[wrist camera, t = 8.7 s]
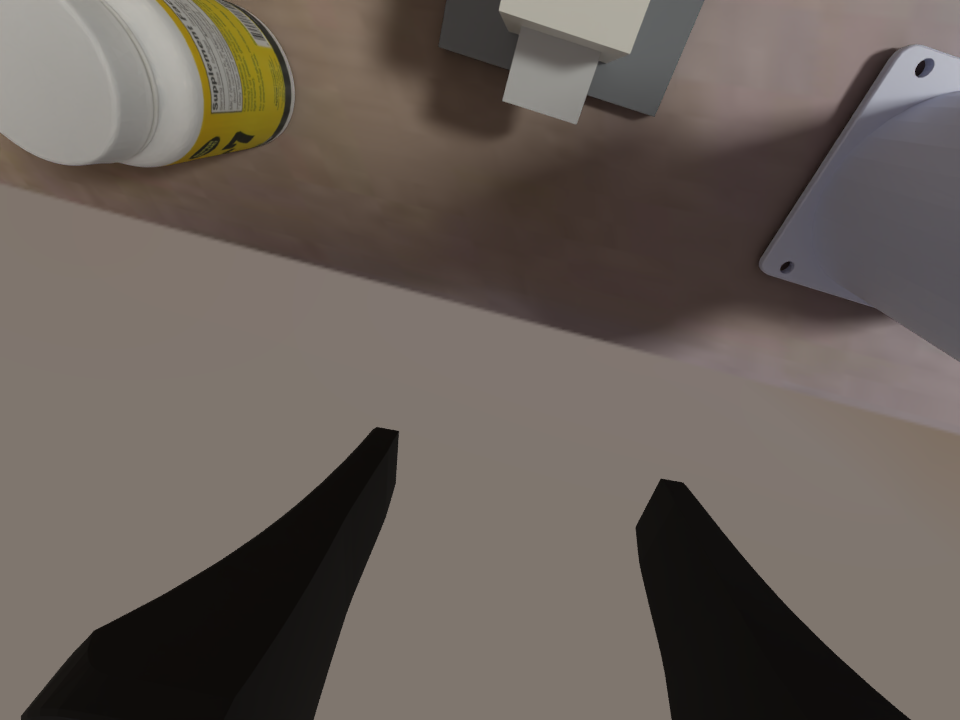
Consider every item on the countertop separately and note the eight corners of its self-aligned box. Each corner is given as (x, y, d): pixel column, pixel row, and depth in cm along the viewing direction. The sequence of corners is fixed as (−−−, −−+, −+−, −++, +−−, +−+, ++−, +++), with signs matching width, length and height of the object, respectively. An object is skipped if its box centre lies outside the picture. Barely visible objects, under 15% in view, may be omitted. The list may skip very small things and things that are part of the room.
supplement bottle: (206, 149, 19) (-1, 186, 11) (157, 8, 16) (-144, -58, 9) (313, 143, 18) (165, 178, 11) (279, -5, 16) (59, -86, 8)
